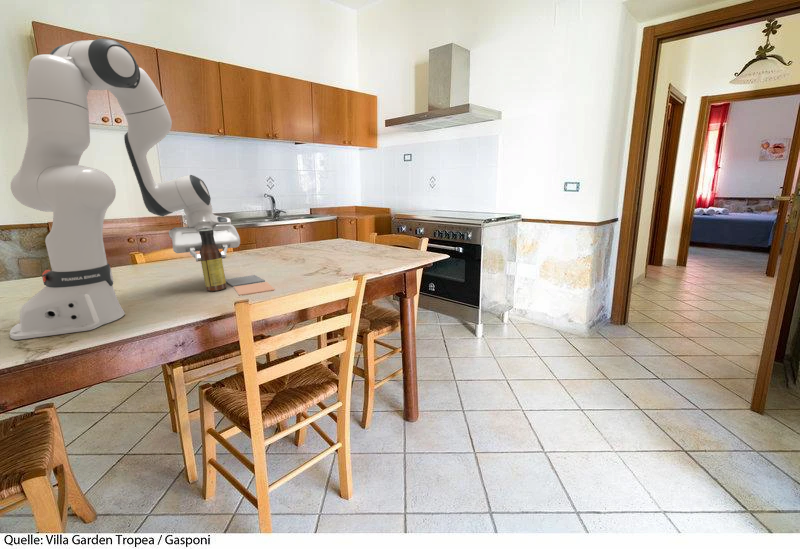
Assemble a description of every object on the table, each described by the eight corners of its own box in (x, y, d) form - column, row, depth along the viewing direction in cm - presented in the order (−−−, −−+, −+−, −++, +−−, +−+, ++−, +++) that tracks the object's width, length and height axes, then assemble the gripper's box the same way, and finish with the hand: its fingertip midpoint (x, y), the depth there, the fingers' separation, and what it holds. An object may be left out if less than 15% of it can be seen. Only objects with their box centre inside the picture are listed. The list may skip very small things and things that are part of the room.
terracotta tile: (239, 297, 122) (239, 294, 122) (233, 289, 131) (233, 286, 131) (275, 292, 127) (274, 289, 127) (267, 284, 137) (267, 281, 136)
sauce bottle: (230, 286, 132) (222, 228, 127) (220, 292, 126) (211, 230, 121) (211, 286, 133) (203, 228, 128) (201, 291, 127) (192, 231, 122)
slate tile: (232, 288, 132) (232, 285, 132) (224, 282, 141) (224, 279, 140) (265, 283, 139) (264, 280, 138) (255, 277, 147) (254, 274, 147)
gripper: (167, 222, 124) (174, 257, 118) (234, 217, 135) (244, 249, 129) (167, 234, 128) (175, 268, 123) (233, 229, 140) (243, 260, 134)
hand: (211, 258), depth 126 cm, fingers closed on sauce bottle, 6 cm apart
